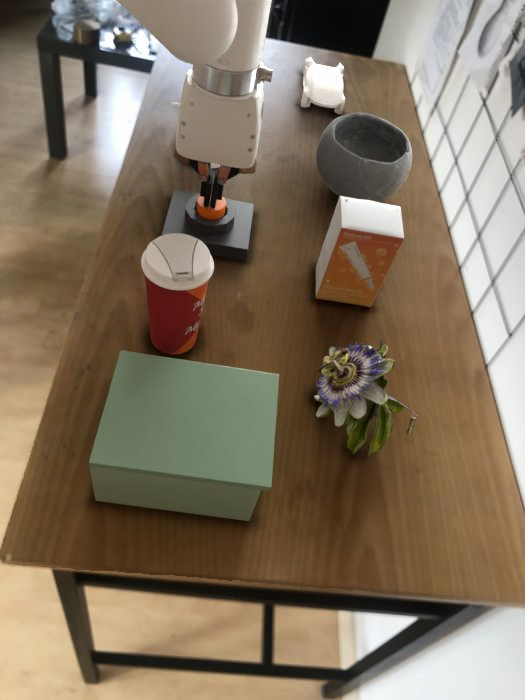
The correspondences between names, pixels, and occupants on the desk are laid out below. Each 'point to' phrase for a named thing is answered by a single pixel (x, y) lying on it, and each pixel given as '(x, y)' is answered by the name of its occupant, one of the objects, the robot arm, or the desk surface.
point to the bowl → (363, 157)
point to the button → (211, 209)
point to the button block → (212, 225)
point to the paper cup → (176, 289)
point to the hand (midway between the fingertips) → (210, 200)
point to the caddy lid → (189, 421)
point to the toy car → (323, 86)
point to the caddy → (173, 494)
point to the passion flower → (359, 394)
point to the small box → (358, 251)
